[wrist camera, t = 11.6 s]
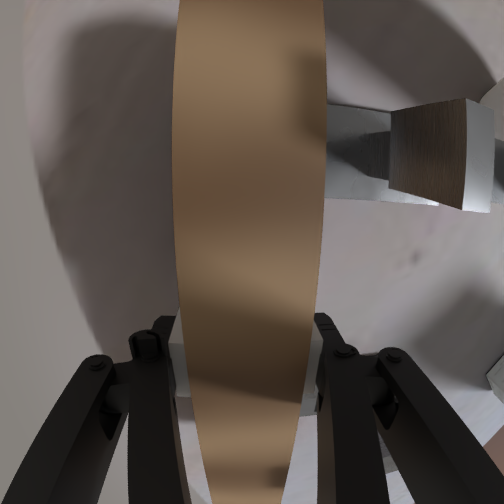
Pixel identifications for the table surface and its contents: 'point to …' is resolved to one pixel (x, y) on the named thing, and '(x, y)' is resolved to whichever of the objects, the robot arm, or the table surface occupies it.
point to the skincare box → (497, 379)
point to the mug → (496, 107)
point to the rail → (248, 228)
